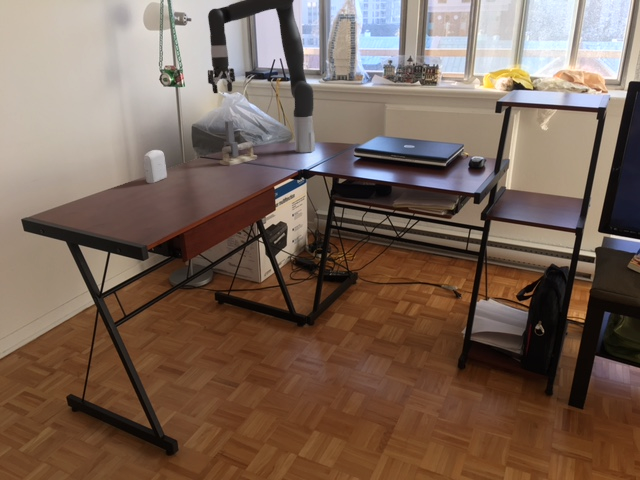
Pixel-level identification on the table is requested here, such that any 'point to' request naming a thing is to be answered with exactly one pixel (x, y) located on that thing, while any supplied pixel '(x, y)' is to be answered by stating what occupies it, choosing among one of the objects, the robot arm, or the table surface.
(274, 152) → the table surface
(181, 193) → the table surface
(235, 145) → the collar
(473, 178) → the table surface
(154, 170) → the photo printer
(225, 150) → the pipe stand
